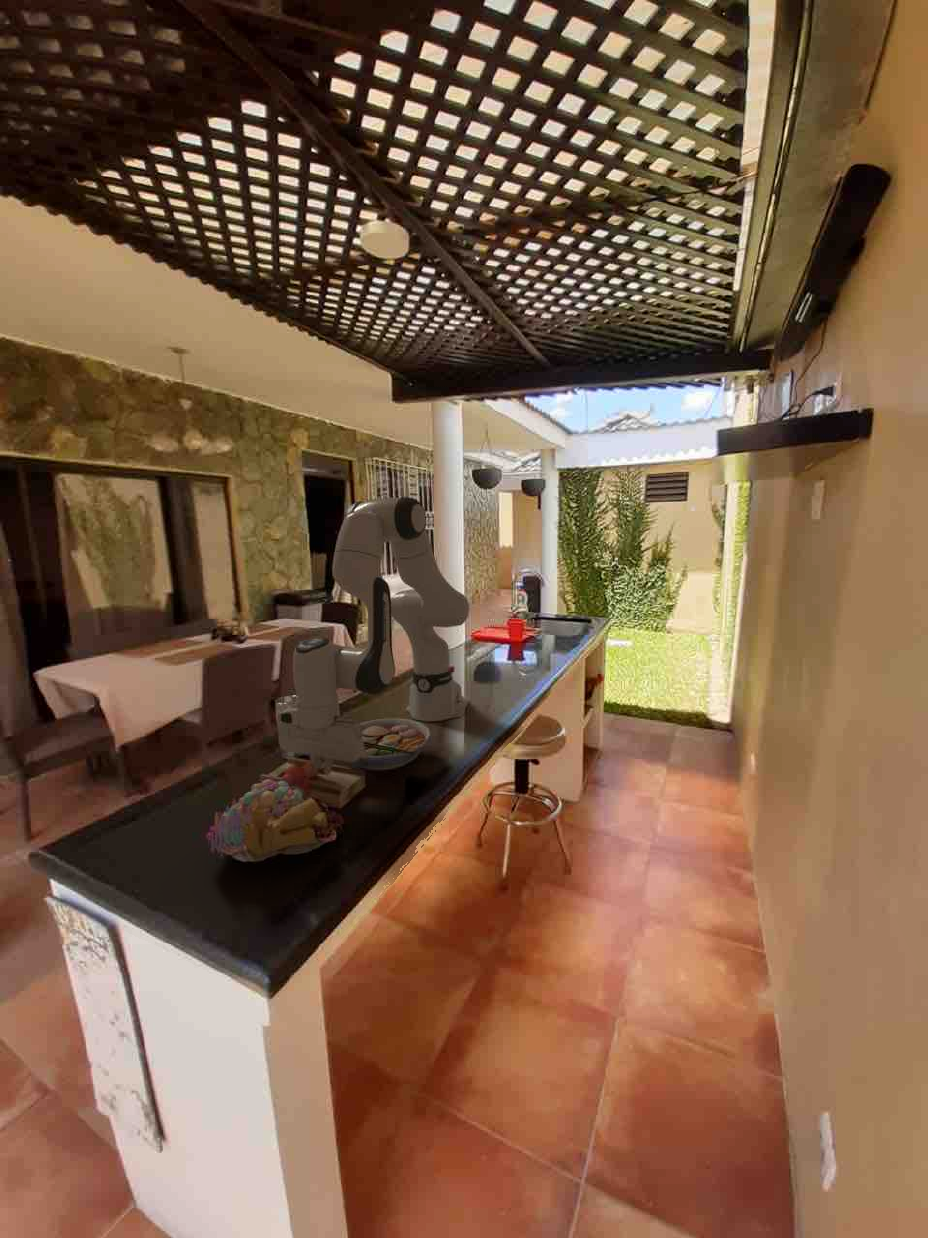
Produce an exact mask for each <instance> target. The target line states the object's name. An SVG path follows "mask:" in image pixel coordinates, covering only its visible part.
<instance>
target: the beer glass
mask: <svg viewBox="0 0 928 1238" xmlns="http://www.w3.org/2000/svg"><path fill="white" fill-rule="evenodd" d="M296 697H297V694H294V695H293V694H292V695H284V696H282V697H279V698H276V700H275V701H274V702H275V703H274V704H275V720H276V724H277V727H278V726H279V724H280V722H279V721H278V717H277V715H278V714H279V713H280V712H282V711H284V710H285V709H287V708H289V707H292V706H294V705H296ZM281 751H282V752H281V758H283V759H285V760H287V758H288V757H294V758H299V759H300V758H302V757H304V756H305V754H299V753H293V752H287V751H283V750H282V749H281Z"/></svg>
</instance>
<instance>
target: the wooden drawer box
mask: <svg viewBox="0 0 928 1238" xmlns="http://www.w3.org/2000/svg"><path fill="white" fill-rule="evenodd" d="M308 762H311V760H310V759H304V758H300V757H299V758H294V757H288V758H287V759H286V762H285V763H284V764H282V765H280V766H279V767H278V768H276V769H274V770H273V771H271V772H270V773H268V774H266V773H261V774H259V779H260V780H259V781H260V782H259V783H262V782H263V781H264V780H266V779H271V780H273V781H274V782H280V781H281V778H282V777H283V776H284V775H285V771H286V770H287V768H288V767H290V766H291V765H295V764H297V765H300V766H302V767H303V768H304V766H305V765H306V764H307V763H308ZM325 763H326V762H322V764H325ZM365 776H366V775H365V769H361V768H356V767H351V766H344V765H338V764H334V763H332V764H331V773H330V774H329V775H322V774H318V775H317V776H316V777H313V778H310V781H311V782H310V785H309V788H310V789H311V794H310V796H311V798H316V799H319V800H320V801H321V802H324V804H325V805H327V806H328V807H330V808H335V809H340V810H341V809H342V808H343V807H344V806H345V805H346V804H348V802H350V801H351V799H353V798H354V797H355V796H356V795H358V793H360V792H361V791H362V790H363V789H364V788H365V787H366V778H365ZM290 788H291V790H295V789H298V790H299V791H300V792H302V794H303V796H306V797H308V798H309V795H306V794H304V789H300V788H299V787H298V786H297V785H292V786H291V787H290Z"/></svg>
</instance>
